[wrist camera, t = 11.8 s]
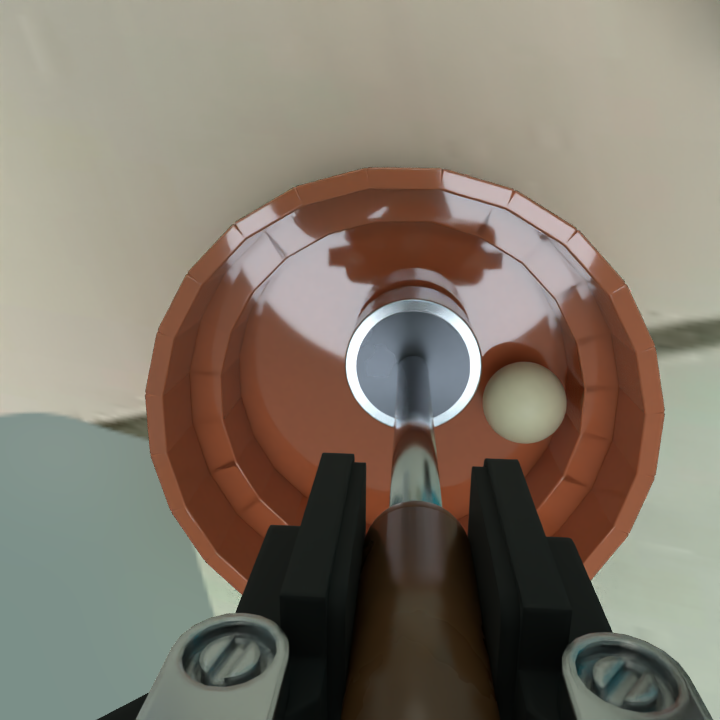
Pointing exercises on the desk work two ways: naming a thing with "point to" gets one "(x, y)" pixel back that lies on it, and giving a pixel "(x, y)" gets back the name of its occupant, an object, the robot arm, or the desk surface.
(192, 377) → the bowl
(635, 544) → the desk surface
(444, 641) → the meat pounder
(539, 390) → the white ball
